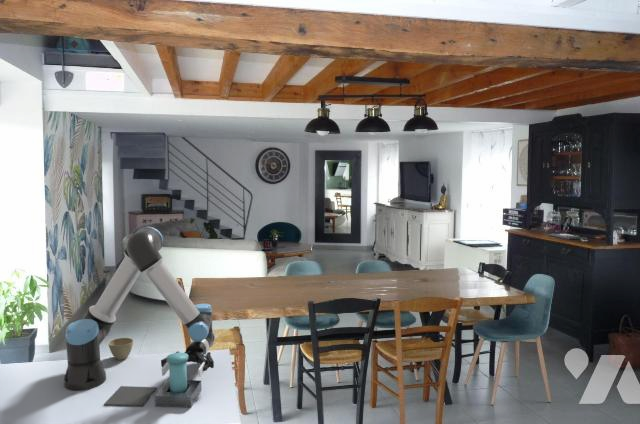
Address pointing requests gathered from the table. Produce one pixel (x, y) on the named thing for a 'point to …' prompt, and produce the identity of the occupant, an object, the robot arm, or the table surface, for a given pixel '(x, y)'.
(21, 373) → the table surface
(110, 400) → the mat
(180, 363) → the teal capped cylinder
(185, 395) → the housing
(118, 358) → the flower pot
